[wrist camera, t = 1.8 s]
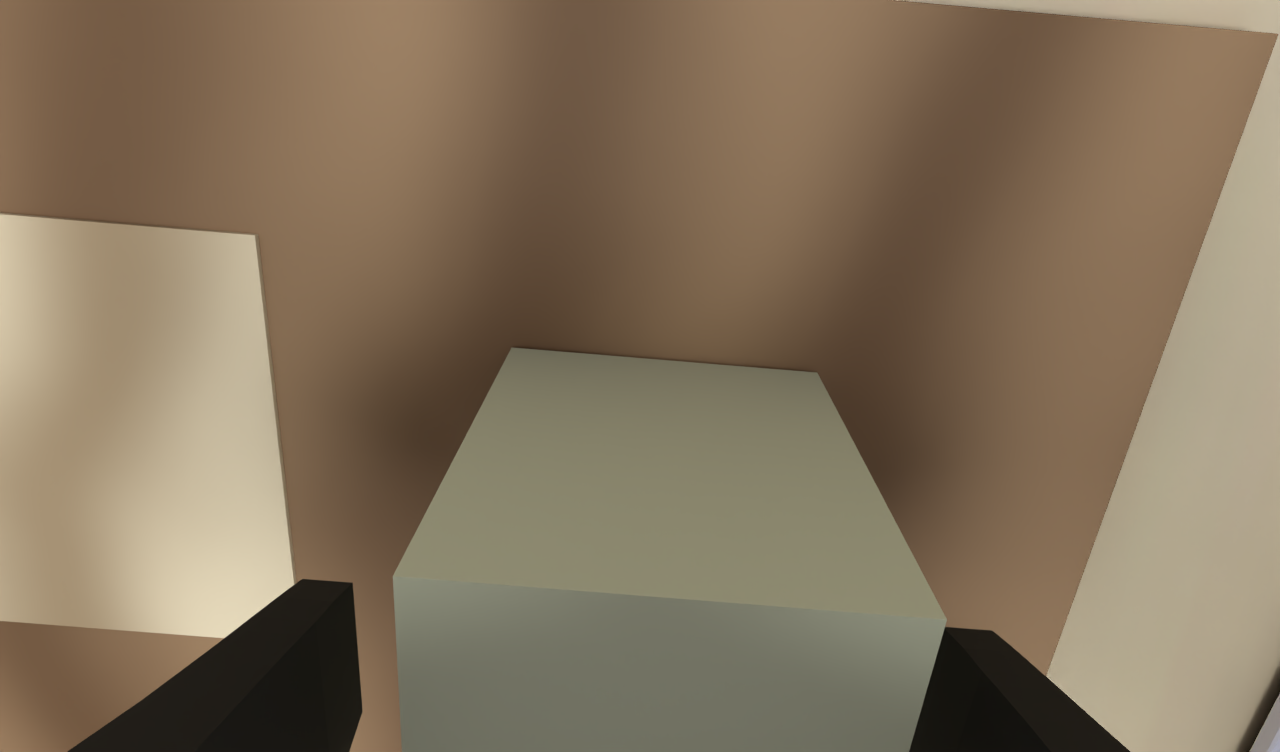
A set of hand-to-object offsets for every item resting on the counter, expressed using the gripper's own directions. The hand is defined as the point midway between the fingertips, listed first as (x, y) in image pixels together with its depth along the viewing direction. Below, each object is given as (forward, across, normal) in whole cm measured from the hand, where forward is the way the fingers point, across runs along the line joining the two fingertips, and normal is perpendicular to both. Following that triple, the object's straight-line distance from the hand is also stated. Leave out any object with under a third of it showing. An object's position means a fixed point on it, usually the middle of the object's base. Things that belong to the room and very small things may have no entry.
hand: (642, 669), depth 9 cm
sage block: (+4, 0, 0) cm, 4 cm away
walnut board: (+5, +3, 0) cm, 6 cm away
